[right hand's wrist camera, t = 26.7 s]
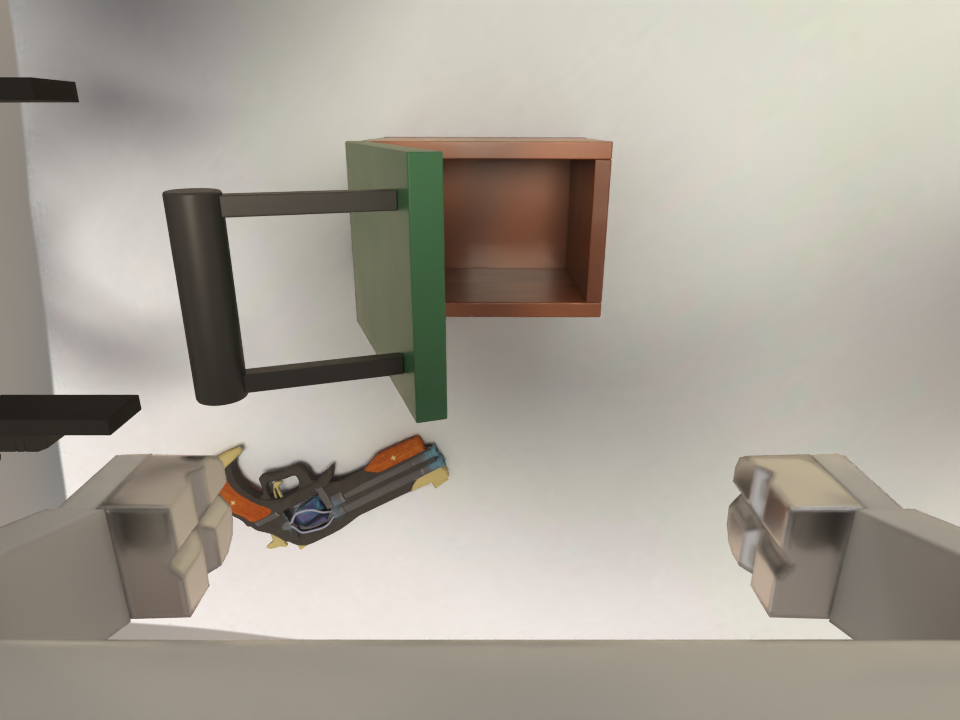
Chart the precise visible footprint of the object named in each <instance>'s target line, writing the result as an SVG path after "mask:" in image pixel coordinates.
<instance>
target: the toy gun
mask: <svg viewBox="0 0 960 720" xmlns="http://www.w3.org/2000/svg"><path fill="white" fill-rule="evenodd" d="M242 451H243V450H242V449H241V448H240V447H236V448H233V449H231V450H229V451H226V452H225V453H223V454H221V455H219V456H218V457H219V458H220V459H221V460H222V462H223V464H224V469H225V474H226V479H227V482H226V483H225V485H224V487H223V488H222V490H221V491H220V493H219V494H220V495H221V496H222V497H223V498H224V499H225V500H226V501H227V502H228V503H229V504H230V506H231V510H232V516H234V517H236V518H238V519H240V520H242V521H243V522H244V523H245V524H246V525H247V526H251V527H252V528H254V529H255V530H258V531H261V532H266V533H270V534H271V536H272V538H273V541H272V542H271V543H270V544H268V546H267V548H276V547H279V546H283V547H286V546H287V545H288V543H287V542H291V543H293V544H296V545H298V546H299V548H300V549H303V548H304V547H305V546H307V545H309V544H311V543H314V542H316V541H318V540H320V539H322V538H324V537H326V536H328V535H331V534H333V533H334V532H336V531H338V530H340V529H341V528H343V527H344V526H346V525H347V524H349V523H350V522H351V521H353V520H354V519H355V518H356V517H358V516H359V515H361V514H363V513H365V512H367V511H370V510H372V509H374V508H376V507H378V506H380V505H382V504H384V503H386V502H388V501H390V500H393V499H395V498H397V497H399V496H401V495H403V494H405V493H408V492H410V491H414V490H416V489H418V488H420V487H423V486H425V485H427V484H429V483H431V482H432V483H433V485H434V487H435V488H437V487H438V486H440V485H441V484H442V483H444V482H445V481H447V480H448V477H449V472H448V470H447V468H446V467H445V466H446V462H445V460H444V458H443V456H442V455H439V452H438V449H437V447H436V446H435V445H433V446H431V445H428V446H425V444H424V443H423V441H422V439H421V438H420V437H419V436H415V437H413V438H411V439H408V440H406V441H403V442H401V443H399V444H397V445H394V446H392V447H390V448H388V449H386V450H383V451H381V452H379V453H378V454H377V455H376V456H375V457H374V458H373V459H372V460H371V462H370V463H369V464H368V465H367V466H366V467H365V468H364V469H362V470H360V471H358V472H356V473H354V474H352V475H350V476H347V477H344V478H341V479H334V480H331V479H332V477H333V474H334V469H335V464H333V465H332V466H331V467H330V468H329V469H328V470H327V471H326V472H325V473H324V474H322V475H321V476H319V477H318V478H315V477H313V476H312V474H311V473H310V471H309V469H308V468H306V467H305V466H303V465H301V464H295V465H293V466H291V467H289V468H287V469H284V470H281V471H276V472H269V473H264V474H262V475H261V476H260V478H259V481H260V483H261V486H262V489H263V494H261V493H259V492H257V491H256V490H254V489H253V488H251V487H250V486H249V485H247V484H246V483H245V482H244V481H243V480H242V479H241V477H240V475H239V473H238V471H237V468H236V464H235V463H236V458H237V457H238V456H239V455H240V454H241V453H242ZM293 475H295V476H297V478H298V479H299V487H298V488H296V489H294V490H292V491H290V492H288V493H286V494H284V495H283V494H282V492H281V491H280V489H279V485H280V484H281V483H282V482H283V481H276V480H281V479H285V478H288V477H290V476H293ZM271 481H275V482H274V485H273V492H274V496H273V494H272V492H271V491H270V489H269V482H271ZM275 487H276V489H277V492H278V494H279V496H277V493H276V491H275ZM316 493H318V494H319V495H318V496H313V495H314V494H316ZM308 498H311V499H310V500H309V501H307V502H306V503H305V504H304V505H303V506H302V507H301V508H300V509H299V510H298V511H297V509H298V507H299V506H300V505H301V504H302V503H303V502H304V501H305V500H306V499H308ZM297 504H299V505H298V506H297V507H296V509H295V512H294V516H293V515H292V514H291V512H290V511H289V508H291V507H293V506H295V505H297ZM330 512H333V515H334V516H333V517H332V518H331V520H329V521H328V522H326V523H324V524H321V525H319V526H317V527H314V528H311V529H305V530H304V529H301V528H300V527H299V525H302V526H305V527H307V526H313V525H316V524H318V523H321V522H324V521H326V520H327V519H328V516H329V514H330ZM286 541H287V542H286Z"/></svg>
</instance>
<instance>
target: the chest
mask: <svg viewBox="0 0 960 720" xmlns="http://www.w3.org/2000/svg"><path fill="white" fill-rule="evenodd" d="M364 141H370V142H377V143H384V144H391V145H398V146H406V147H413V148H420V149H427V150H434V151H441V152H442V153H443V194H444V254H445V313H446V317H600V315H601V301H602V288H603V273H604V259H605V245H606V231H607V217H608V203H609V189H610V174H611V160H610V159H611V158H612V146H613V142H611V141H603V140H595V139H588V138H523V137H384V138H378V139H371V140H364Z"/></svg>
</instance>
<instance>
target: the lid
mask: <svg viewBox="0 0 960 720" xmlns="http://www.w3.org/2000/svg"><path fill="white" fill-rule="evenodd" d="M345 145H346V160H347V175H348V190H331V191H296V192H261V193H227V194H222V192H221V190H218V189H211V188H190V189H175V190H168V191H165V192H163V194H162V195H163V201H164V208H165V214H166V220H167V226H168V232H169V238H170V244H171V250H172V256H173V262H174V268H175V274H176V280H177V286H178V292H179V298H180V304H181V310H182V317H183V323H184V329H185V335H186V341H187V347H188V353H189V359H190V365H191V371H192V377H193V383H194V389H195V395H196V400H197V401H198V402H199V403H200V404H203V405H209V406H219V405H227V404H231V403H235V402H237V401H240V400H242V399H243V398H245V397H246V396H247V394H248V393H249V392H258V391H266V390H274V389H283V388H291V387H299V386H307V385H316V384H324V383H332V382H341V381H349V380H357V379H366V378H374V377H382V376H390V378H391V380H392V381H393V383H394V385H395V387H396V388H397V390H398V392H399V393H400V395H401V397H402V399H403V400H404V402H405V404H406V405H407V407H408V409H409V411H410V412H411V414H412V416H413V417H414V419H415V421H416V423H421V422H428V421H435V420H441V419H447V373H446V313H445V254H444V194H443V153H442V152H441V151H434V150H427V149H420V148H413V147H406V146H398V145H391V144H384V143H377V142H370V141H346V142H345ZM326 213H350V220H351V235H352V250H353V265H354V280H355V295H356V310H357V321H358V323H359V325H360V326H361V328H362V330H363V331H364V333H365V335H366V337H367V338H368V340H369V342H370V343H371V345H372V347H373V349H374V350H375V352H376V354H377V355H370V356H361V357H351V358H342V359H333V360H324V361H315V362H306V363H297V364H288V365H279V366H269V367H260V368H251V369H245V362H244V354H243V347H242V339H241V332H240V324H239V317H238V309H237V302H236V294H235V287H234V279H233V272H232V265H231V257H230V250H229V242H228V235H227V227H226V220H225V217H250V216H275V215H300V214H326Z"/></svg>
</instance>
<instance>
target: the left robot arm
mask: <svg viewBox="0 0 960 720" xmlns="http://www.w3.org/2000/svg"><path fill="white" fill-rule="evenodd" d="M0 102H79V99H78V94H77V89H76V84H75V82H69V81H60V80H50V79H40V78H31V77H13V78H12V77H11V78H10V77H8V78H7V77H2V78H1V77H0ZM140 410H141V405H140V400H139V395H0V452H15V451H17V452H24V451H26V452H38V451H41V450H44V449H46V448H48V447H50V446H51V445H52V444H54V443H55V442H56V441H58V440H59V439H60V438H62V437H63V436H64V435H111V434H113V433H114V432H115V431H116V430H117V429H119V428H120V427H121V426H122V425H123V424H124V423H126V422H127V421H128V420H129V419H130V418H132V417H133V416H134V415H135V414H136V413H138V412H139V411H140ZM0 460H1V454H0Z"/></svg>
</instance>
